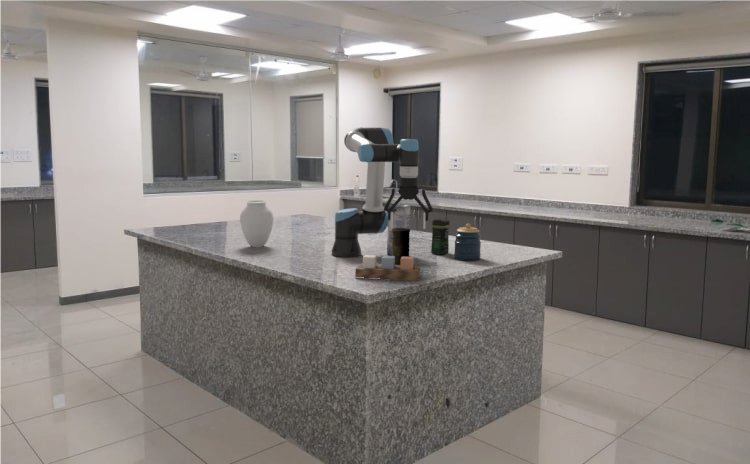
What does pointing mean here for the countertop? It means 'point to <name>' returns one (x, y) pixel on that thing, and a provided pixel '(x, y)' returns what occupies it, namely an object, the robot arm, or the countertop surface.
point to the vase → (256, 223)
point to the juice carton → (398, 222)
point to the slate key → (388, 262)
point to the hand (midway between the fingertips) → (408, 228)
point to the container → (400, 244)
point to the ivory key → (369, 261)
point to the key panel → (388, 273)
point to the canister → (467, 244)
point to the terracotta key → (407, 263)
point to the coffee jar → (440, 236)
